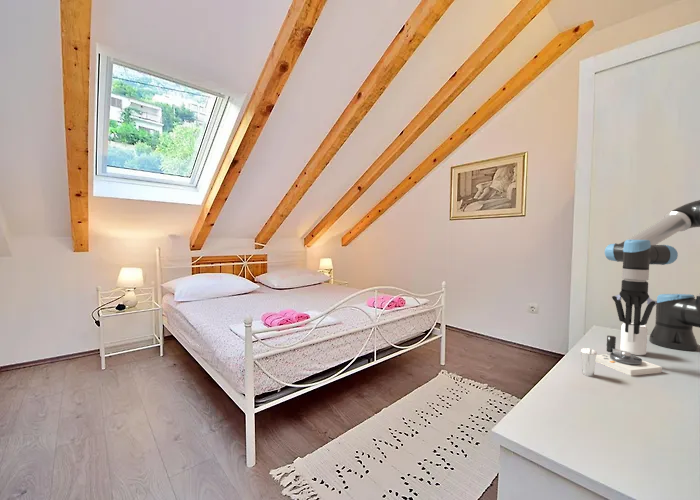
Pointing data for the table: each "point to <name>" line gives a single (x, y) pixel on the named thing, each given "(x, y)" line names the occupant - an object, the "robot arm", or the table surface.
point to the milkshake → (588, 361)
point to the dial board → (628, 366)
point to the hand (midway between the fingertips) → (631, 341)
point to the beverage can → (640, 341)
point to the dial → (621, 353)
